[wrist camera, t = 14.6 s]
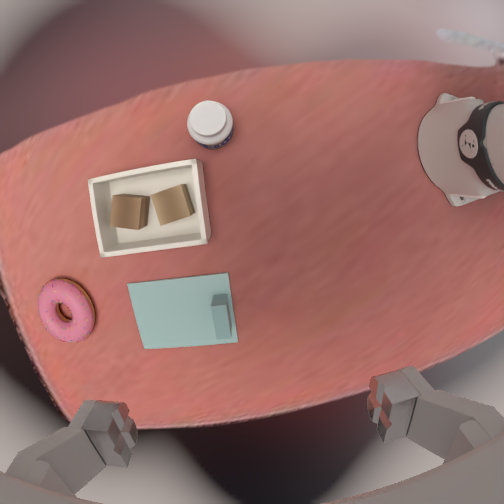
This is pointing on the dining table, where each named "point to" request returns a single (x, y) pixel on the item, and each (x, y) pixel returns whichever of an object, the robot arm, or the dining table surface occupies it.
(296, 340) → the dining table surface
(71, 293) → the doughnut
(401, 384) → the robot arm
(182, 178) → the tub
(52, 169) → the dining table surface
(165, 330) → the lid
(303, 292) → the dining table surface
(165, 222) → the block
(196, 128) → the pill bottle
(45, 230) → the dining table surface
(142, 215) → the block
